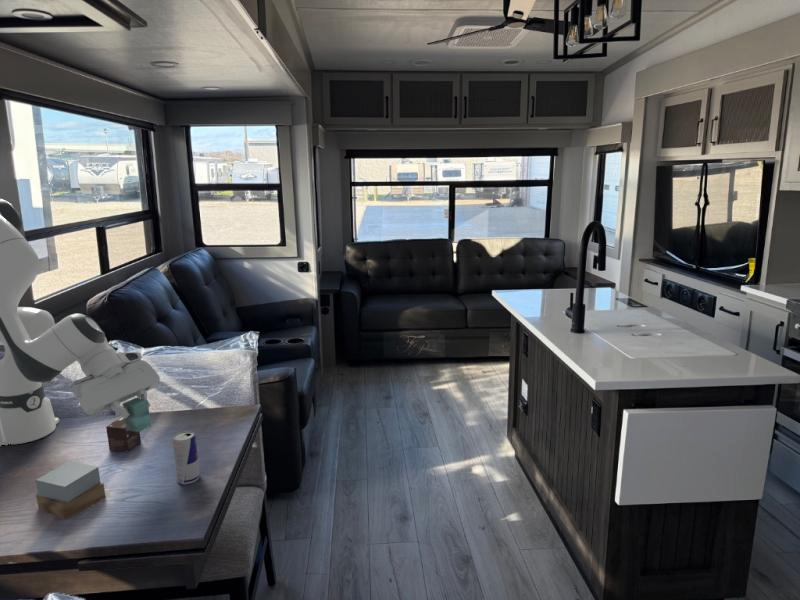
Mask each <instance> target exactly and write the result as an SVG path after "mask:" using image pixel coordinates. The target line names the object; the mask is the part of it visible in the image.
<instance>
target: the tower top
mask: <svg viewBox="0 0 800 600" xmlns="http://www.w3.org/2000/svg"><path fill="white" fill-rule="evenodd" d="M100 482H101V477H100V472H99V467H98V466H95V465H91V464H86V463H82V462H77V461H73V460H69V461H68V462H65V463H63V464H61V465H60V466H58V467H56V468H55V469H53V470H51V471H49V472H47V473H46V474H44V475H42V476H40V477H38V478H37V479H35V483H36V490H37V494H38V496H42V497H46V498H50V499H55V500H59V501H63V502H67V503H68V502H69V501H71V500H73V499H74V498H76V497H77V496H79V495H80V494H82V493H84V492H85V491H87V490H88V489H90V488H92V487H93V486H95V485H96V484H98V483H100Z"/></svg>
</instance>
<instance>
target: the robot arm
mask: <svg viewBox="0 0 800 600" xmlns="http://www.w3.org/2000/svg"><path fill="white" fill-rule="evenodd" d="M22 228H23V222H22V219H21V216H20V213H19V211H17V209H16V208H15V207H14V206H13V205H12V203H10V202H9V201H7V200H4V199H3V198H0V346H3V347H4V355H3V358H1V359H0V447H2V446H1V445H5V446H8V444H9V446H11V445H18V444H25V443H28V442H33V441H34V442H35V441H36V440H40V439H41V438H45V437H46V436H48V435H50V434H51V433H53V432H54V431H55V429H56V427H57V424H59V423H60V419H59V417H55V413H54V410H53V409H54V408H53V406H52V402H51V400H50V398H48V397H46V389H45V386H44V384H43V383H46V382H47V383H49V382H51V381H52V380H54V379H55V378H56V377H57V376H59V375H60V374H62V372H63V371H64V370H65V369H67V368H68V367H69V366H71V365H73V364H74V363H75V362H77V363H78V365H79V366H80V369H81V371H82V373H84V375H85V376H84V377H82V378H80V379H77V380H74V381H73V382H72V384H71V386H70V390H71V392H72V393H73V395H74V397H76V398H77V400H78V403H79V405H80V407H81V408H82V410H83V411H84V413H86V414H87V415H90V416H93V415H95V414H98V413H100V412H103V411H104V410H106V409H111V411H113V412H114V413H117V414H119V415H121V416H122V418H124V419H126V418H128V417H130V416H131V415H132V412H131V411H130V409H129V408H127V409H125V408H123V405H121V403H123V402H126V401H127V400H128V401H129V400H131V399H132V398H140V399H145V400H148V393H147V392H148V391H150V390H153V389H155V388H156V387H157V386H158V384H159V383H160V380H161V377H160V375H159V374H158V373H157V371H156V369H154V368H153V366H152V365H151V364H150V363H149V362H148V361H146V360H144V359H143V356H142V354H141V353H140V352H138V351H133V352H131V351H130V352H128V351H127V352H126V351H125V352H122V351H121V352H119V351H117V350H116V349H115V348H114V347H113V346H111V345H110V344H109V342H108V340H107V339H108V338H107V337H106V333H105V332H104V330H103V329H102V327H101V326H100V325H99V324H98V322H97V321H96V320H95V319H94V318H93V317H91V316H89V315H87V314H86V315H85V314H83V313H72V314H69V315H67V316H65V317H64V318H62V319H61V320H60V321H58V322H56V323H55V319H54V317H53V315H52V314H51V313H50V312H49V311H48V310H44V309H41V308H36V307H31V306H19V303H20V301H21V299H22V297H23V296H24V295H25V293H26V292H27V291H28V289H29V288H30V287H31V285H32V284H33V283H34V282H35V279H36V277H38V273H39V269H40V259H39V257H38V254H37V252H36V251H35V249H34V248H33V246H32V245H31V244H30V243H29V241H28V240H27V239H26V238H25V237H24V236H23V234H22V233H21V231H22ZM148 407H149V408H150V407H151V403H150V402H149V401H148ZM10 444H11V445H10Z"/></svg>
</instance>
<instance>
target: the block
mask: <svg viewBox="0 0 800 600" xmlns="http://www.w3.org/2000/svg"><path fill="white" fill-rule="evenodd" d="M148 402H149V400H148V399H147V400H145V399H141V398H138V397H133V399H132V398H131V399H129V400H128V401H127V400H126V401H124V403H123V402H122V407H123V408H125V409H127V408H129V409H130V411H131V412H132V415H131V416H130V417H128V418H126V419H125V423H126V430H130V431H134V432H137V433H138V432H140V433H141V432H142V431H143V430H145V429H146V430H147V428H150V427H151V426H152V423H151V416H150V409H149V408H150V407H148Z"/></svg>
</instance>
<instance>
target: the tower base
mask: <svg viewBox="0 0 800 600" xmlns="http://www.w3.org/2000/svg"><path fill="white" fill-rule="evenodd" d="M35 497H36V501H37V506H38V509H40V510H41V511H43V512H46V513H48V514H50V513H51V515H53V516H56V517H58V518H60V519H62V520H64V521H65V520H68V519H69V518H71V517H73V516H74V515H76V514H79V513H80V512H81V511H84V510H86V509H87V508H89V507H91V506H92V505H94V504H96V503H97V502H99V501H101V500H103V499H105V498H106V490H105V483H103V482H101V481H100V483H98V484H96V485H95V486H93V487H92V488H90V489H88V490H87V491H85V492H84V493H82V494H80V495H79V496H77V497H76V498H74V499H73V500H71V501H69V502H68V503H67V502H63V501H59V500H55V499H50V498H46V497H42V496H38V493H36V494H35Z"/></svg>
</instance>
